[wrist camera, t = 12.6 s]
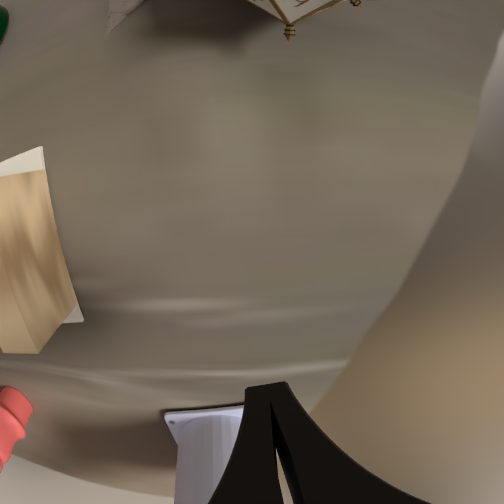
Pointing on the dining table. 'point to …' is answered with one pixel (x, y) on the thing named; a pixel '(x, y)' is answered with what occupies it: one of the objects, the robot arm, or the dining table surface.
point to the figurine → (12, 420)
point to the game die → (296, 10)
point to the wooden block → (30, 265)
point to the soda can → (3, 22)
